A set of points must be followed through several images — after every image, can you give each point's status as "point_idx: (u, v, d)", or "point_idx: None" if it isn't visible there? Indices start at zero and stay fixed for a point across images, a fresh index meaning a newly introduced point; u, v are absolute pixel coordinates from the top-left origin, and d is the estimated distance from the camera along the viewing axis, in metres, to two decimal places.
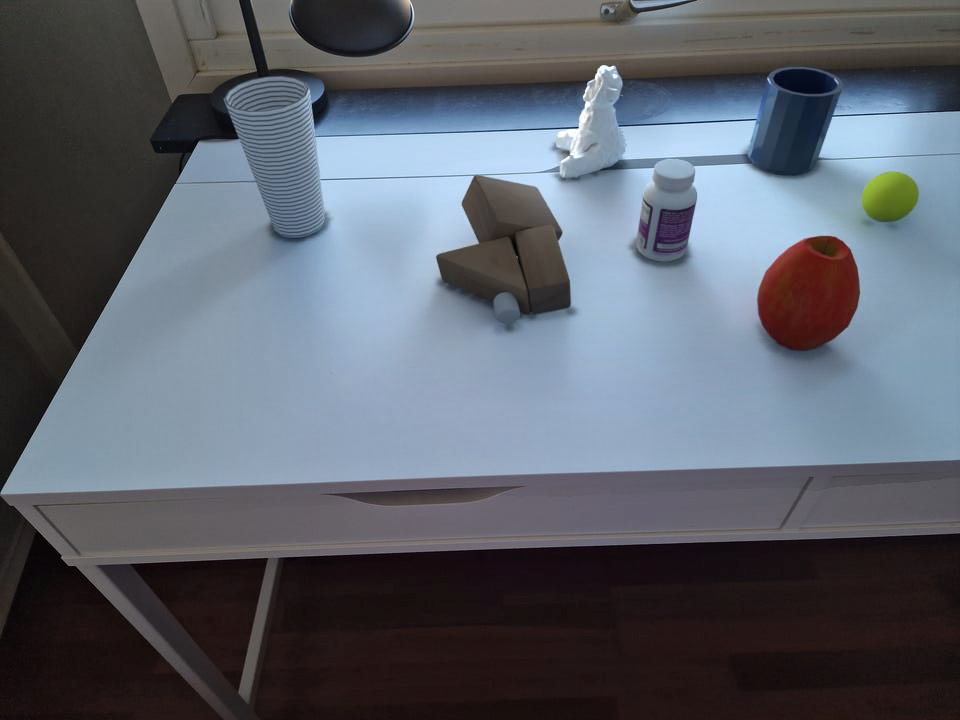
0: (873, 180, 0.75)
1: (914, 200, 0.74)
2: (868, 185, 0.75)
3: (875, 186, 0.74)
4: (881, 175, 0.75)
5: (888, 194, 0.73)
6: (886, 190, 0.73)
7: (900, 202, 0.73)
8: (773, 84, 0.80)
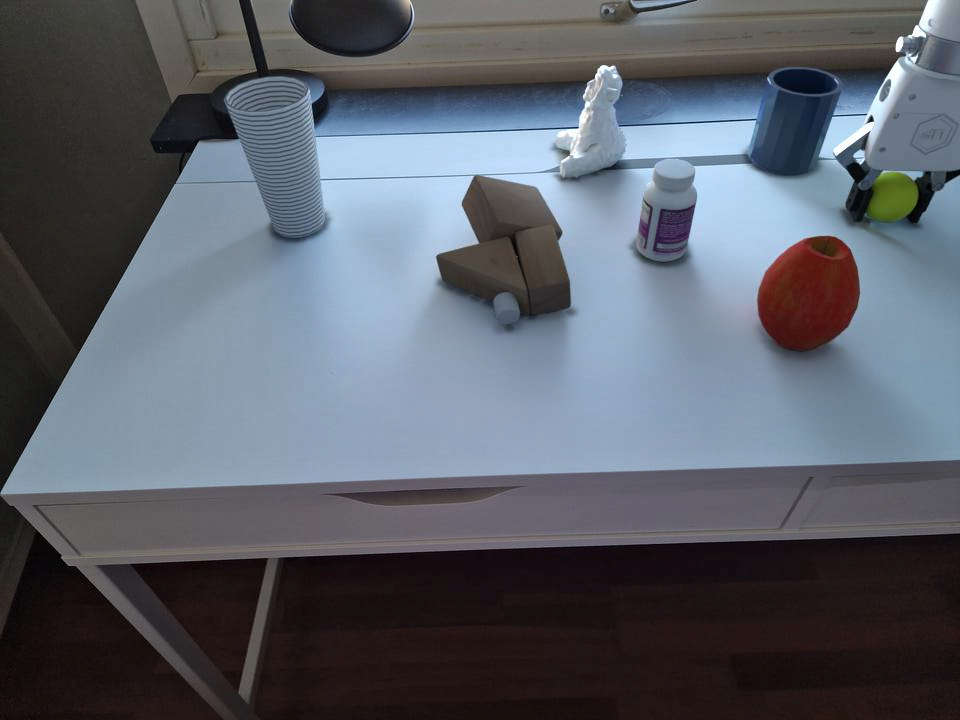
0: None
1: (914, 200, 0.74)
2: None
3: (875, 186, 0.74)
4: (881, 175, 0.75)
5: (888, 194, 0.73)
6: (886, 190, 0.73)
7: (900, 203, 0.73)
8: (773, 84, 0.80)
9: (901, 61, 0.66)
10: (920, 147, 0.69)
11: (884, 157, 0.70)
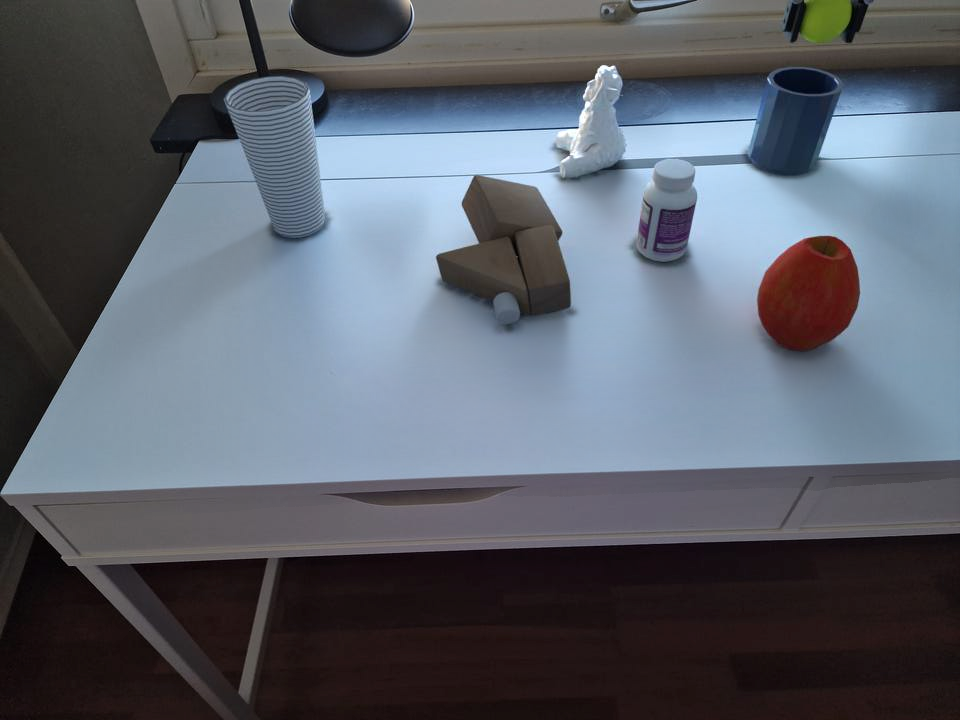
0: None
1: (847, 14, 0.73)
2: None
3: (809, 1, 0.74)
4: None
5: (821, 7, 0.73)
6: (818, 3, 0.73)
7: (832, 15, 0.73)
8: (773, 84, 0.80)
9: None
10: None
11: None
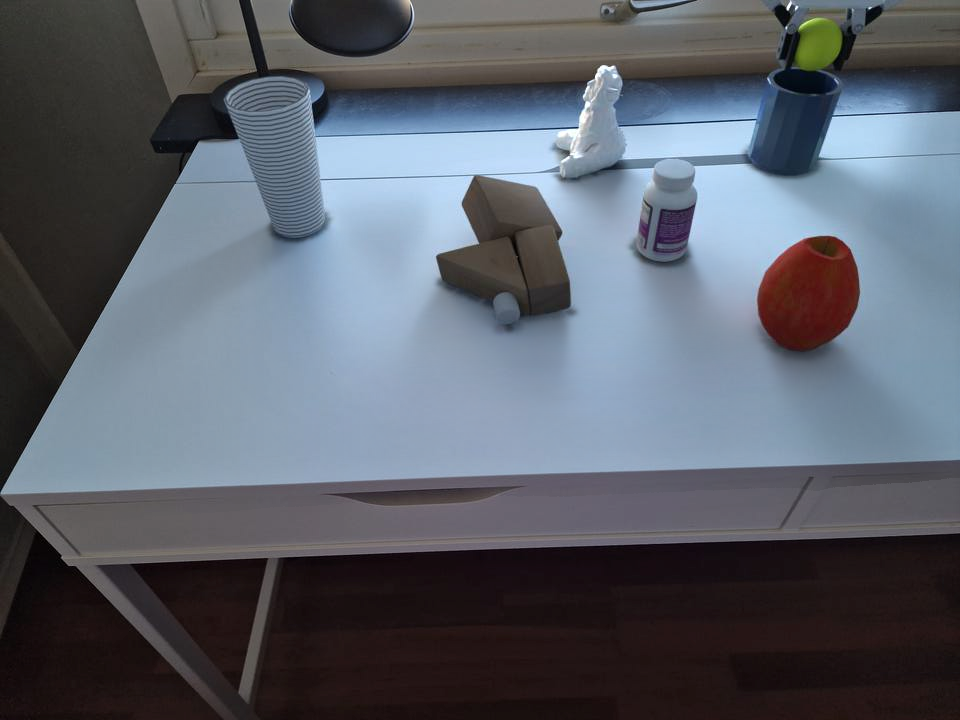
0: (799, 27, 0.77)
1: (837, 44, 0.75)
2: None
3: (800, 31, 0.76)
4: (807, 21, 0.77)
5: (812, 37, 0.75)
6: (810, 33, 0.75)
7: (823, 45, 0.75)
8: (773, 84, 0.80)
9: None
10: None
11: None
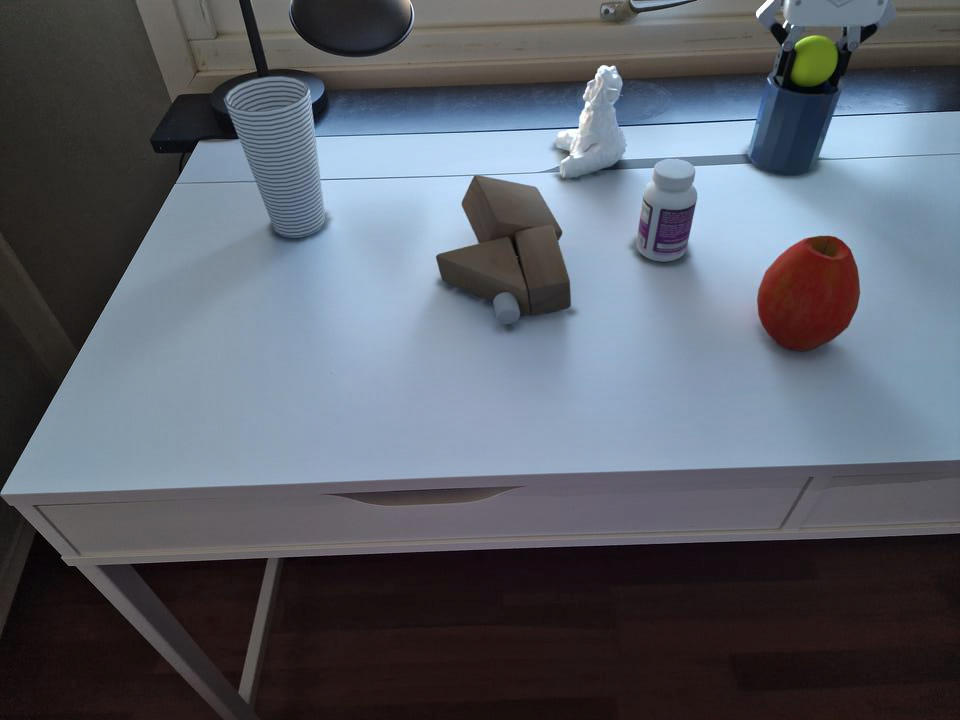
0: (795, 44, 0.78)
1: (833, 61, 0.77)
2: None
3: (797, 48, 0.77)
4: (803, 39, 0.78)
5: (808, 55, 0.76)
6: (806, 50, 0.77)
7: (819, 62, 0.76)
8: (773, 84, 0.80)
9: None
10: None
11: (800, 11, 0.73)
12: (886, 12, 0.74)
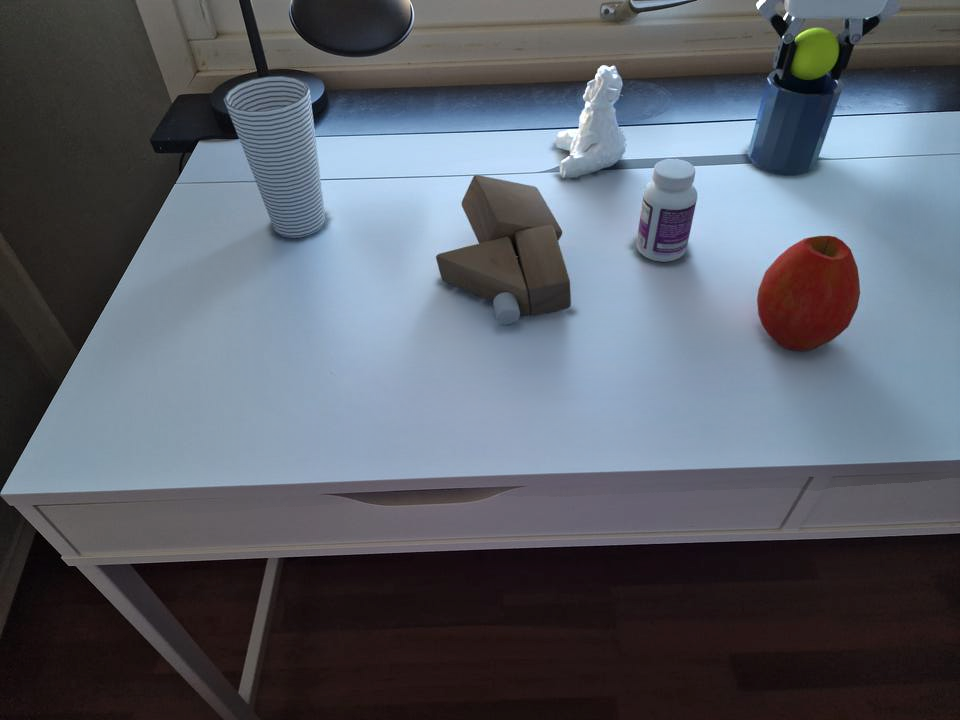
0: (796, 37, 0.78)
1: (834, 53, 0.76)
2: None
3: (798, 41, 0.77)
4: (804, 31, 0.77)
5: (809, 47, 0.76)
6: (807, 43, 0.76)
7: (820, 55, 0.76)
8: (773, 84, 0.80)
9: None
10: None
11: (802, 3, 0.72)
12: (888, 4, 0.73)
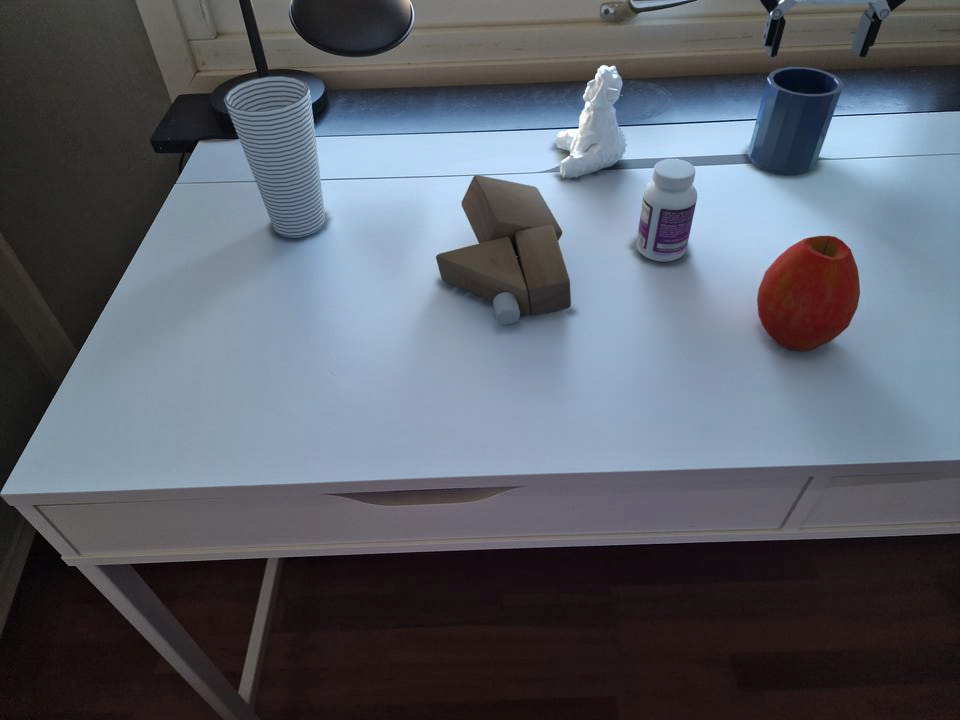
0: None
1: None
2: None
3: None
4: None
5: None
6: None
7: None
8: (773, 84, 0.80)
9: None
10: None
11: None
12: None
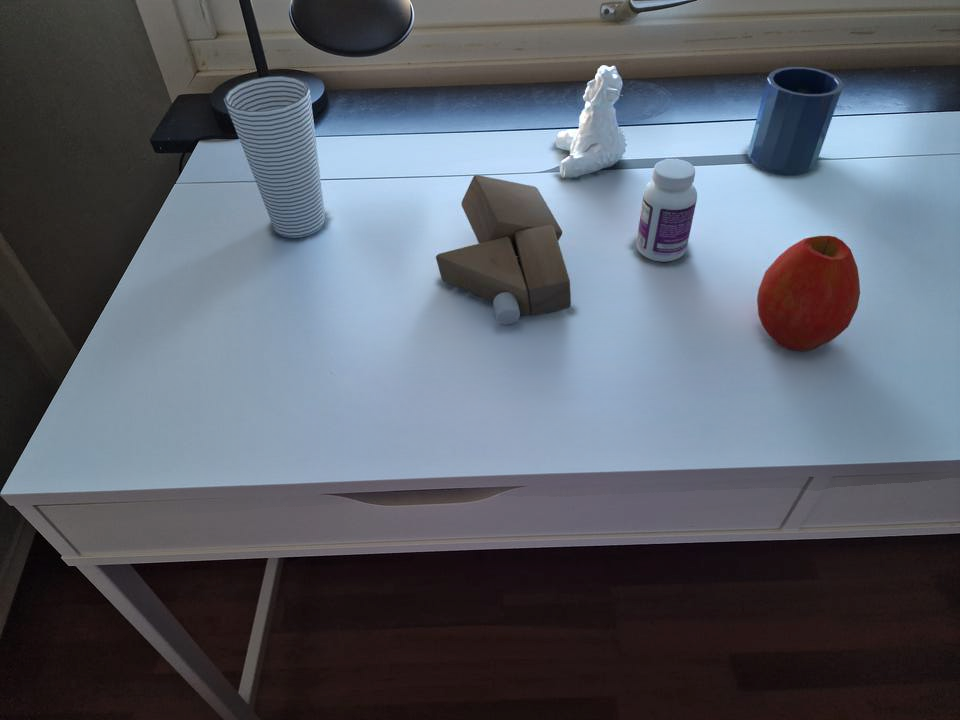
0: None
1: None
2: None
3: None
4: None
5: None
6: None
7: None
8: (773, 84, 0.80)
9: None
10: None
11: None
12: None
